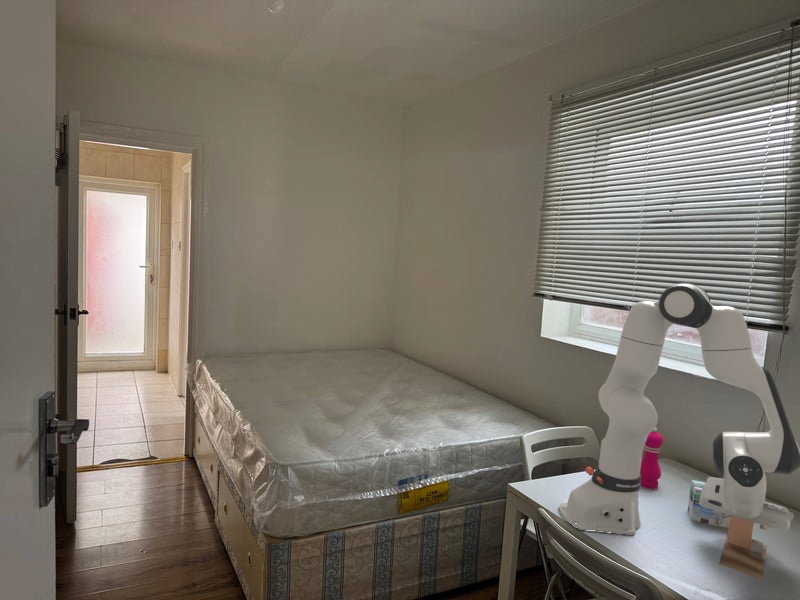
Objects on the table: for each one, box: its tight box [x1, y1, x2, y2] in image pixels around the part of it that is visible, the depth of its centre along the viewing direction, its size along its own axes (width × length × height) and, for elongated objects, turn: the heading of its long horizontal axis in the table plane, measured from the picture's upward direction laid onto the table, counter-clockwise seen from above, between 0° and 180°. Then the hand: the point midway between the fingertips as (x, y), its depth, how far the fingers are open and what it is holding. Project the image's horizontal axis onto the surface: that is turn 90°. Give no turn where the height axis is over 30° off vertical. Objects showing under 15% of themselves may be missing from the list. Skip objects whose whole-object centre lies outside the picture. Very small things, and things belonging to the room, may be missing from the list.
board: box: [718, 534, 768, 580], centre depth 139 cm, size 19×9×4 cm, turn 143°
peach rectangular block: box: [727, 516, 755, 549], centre depth 145 cm, size 5×5×8 cm
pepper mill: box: [640, 427, 664, 490], centre depth 179 cm, size 7×7×20 cm
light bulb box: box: [687, 479, 731, 529], centre depth 156 cm, size 11×7×11 cm, turn 70°
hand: (742, 520), depth 145 cm, fingers open, 8 cm apart
